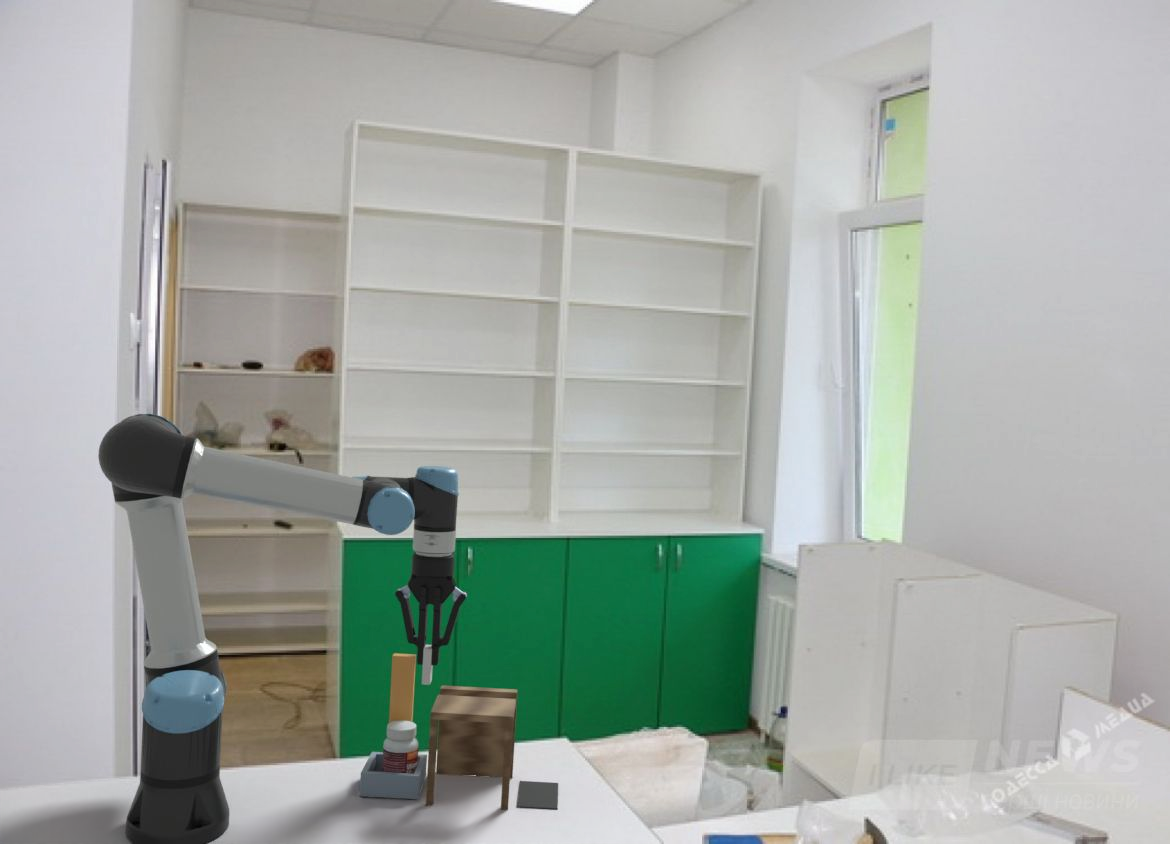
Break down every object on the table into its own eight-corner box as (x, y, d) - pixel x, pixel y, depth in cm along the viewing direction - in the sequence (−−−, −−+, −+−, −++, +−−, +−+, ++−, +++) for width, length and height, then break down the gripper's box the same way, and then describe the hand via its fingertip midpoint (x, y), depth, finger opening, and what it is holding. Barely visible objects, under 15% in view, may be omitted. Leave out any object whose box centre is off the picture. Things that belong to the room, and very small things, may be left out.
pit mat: (516, 807, 177) (516, 806, 177) (519, 781, 188) (520, 780, 188) (557, 809, 178) (557, 808, 178) (558, 783, 189) (558, 782, 189)
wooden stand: (425, 805, 176) (430, 712, 175) (436, 771, 191) (441, 685, 190) (507, 810, 176) (513, 716, 175) (512, 775, 191) (517, 689, 190)
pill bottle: (411, 796, 179) (415, 732, 179) (376, 793, 180) (380, 729, 179) (419, 782, 185) (423, 720, 185) (386, 779, 186) (389, 718, 185)
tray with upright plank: (359, 795, 177) (366, 668, 176) (371, 772, 188) (377, 652, 187) (417, 799, 178) (424, 672, 177) (426, 775, 188) (432, 655, 187)
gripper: (393, 554, 181) (387, 686, 182) (467, 558, 181) (460, 690, 183) (400, 547, 189) (394, 674, 190) (471, 551, 189) (464, 678, 190)
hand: (426, 682), depth 186 cm, fingers closed
